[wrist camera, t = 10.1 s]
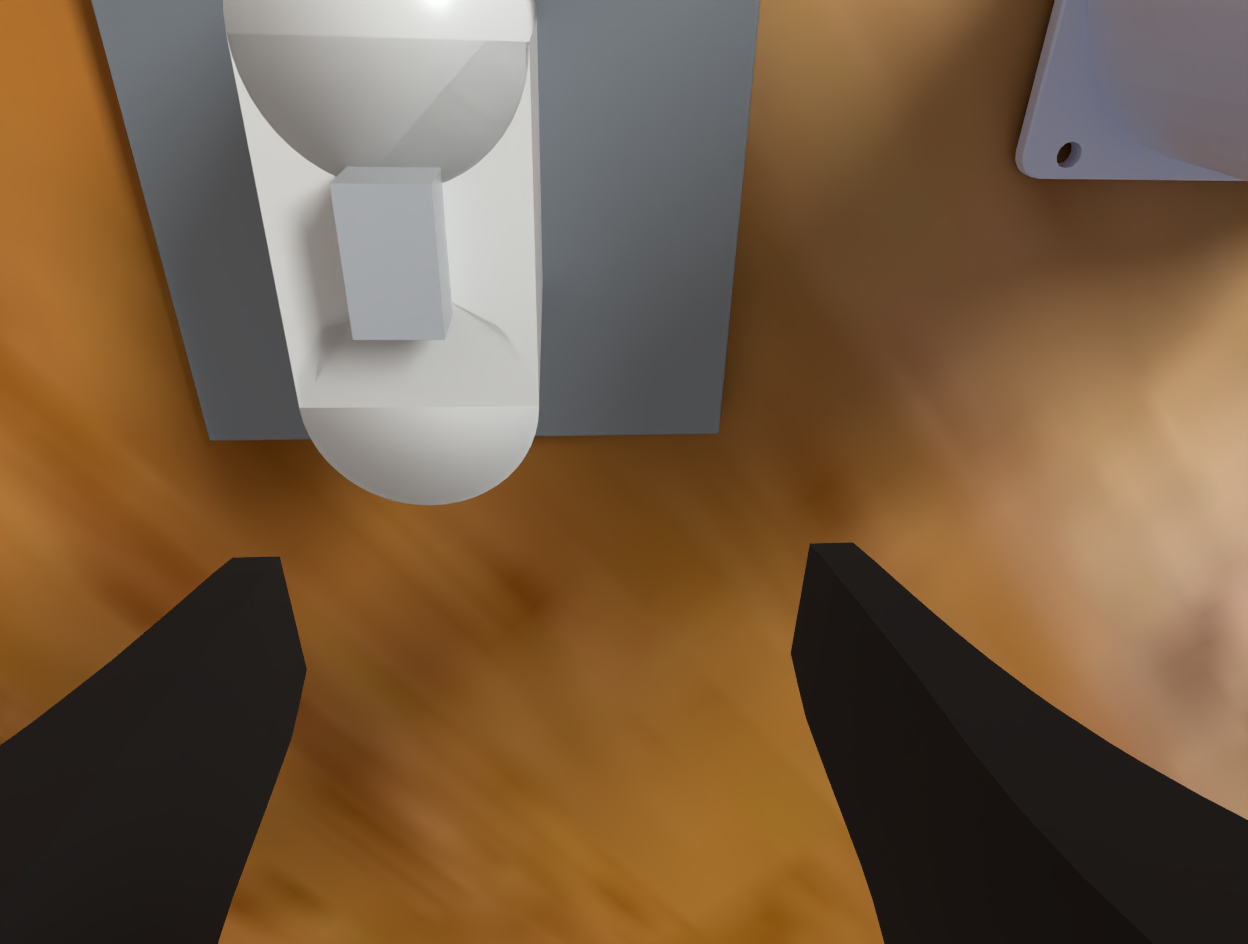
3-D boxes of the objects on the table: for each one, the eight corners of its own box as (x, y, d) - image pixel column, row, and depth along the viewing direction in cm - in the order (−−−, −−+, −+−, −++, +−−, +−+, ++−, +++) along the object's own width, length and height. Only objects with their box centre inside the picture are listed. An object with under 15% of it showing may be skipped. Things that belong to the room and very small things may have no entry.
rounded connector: (534, -101, 14) (521, -152, 8) (544, 358, 19) (540, 538, 13) (321, -110, 14) (150, -169, 8) (382, 358, 18) (302, 543, 13)
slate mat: (767, -184, 15) (778, -192, 14) (713, 418, 21) (718, 433, 20) (56, -216, 14) (30, -226, 13) (221, 424, 20) (209, 440, 19)
